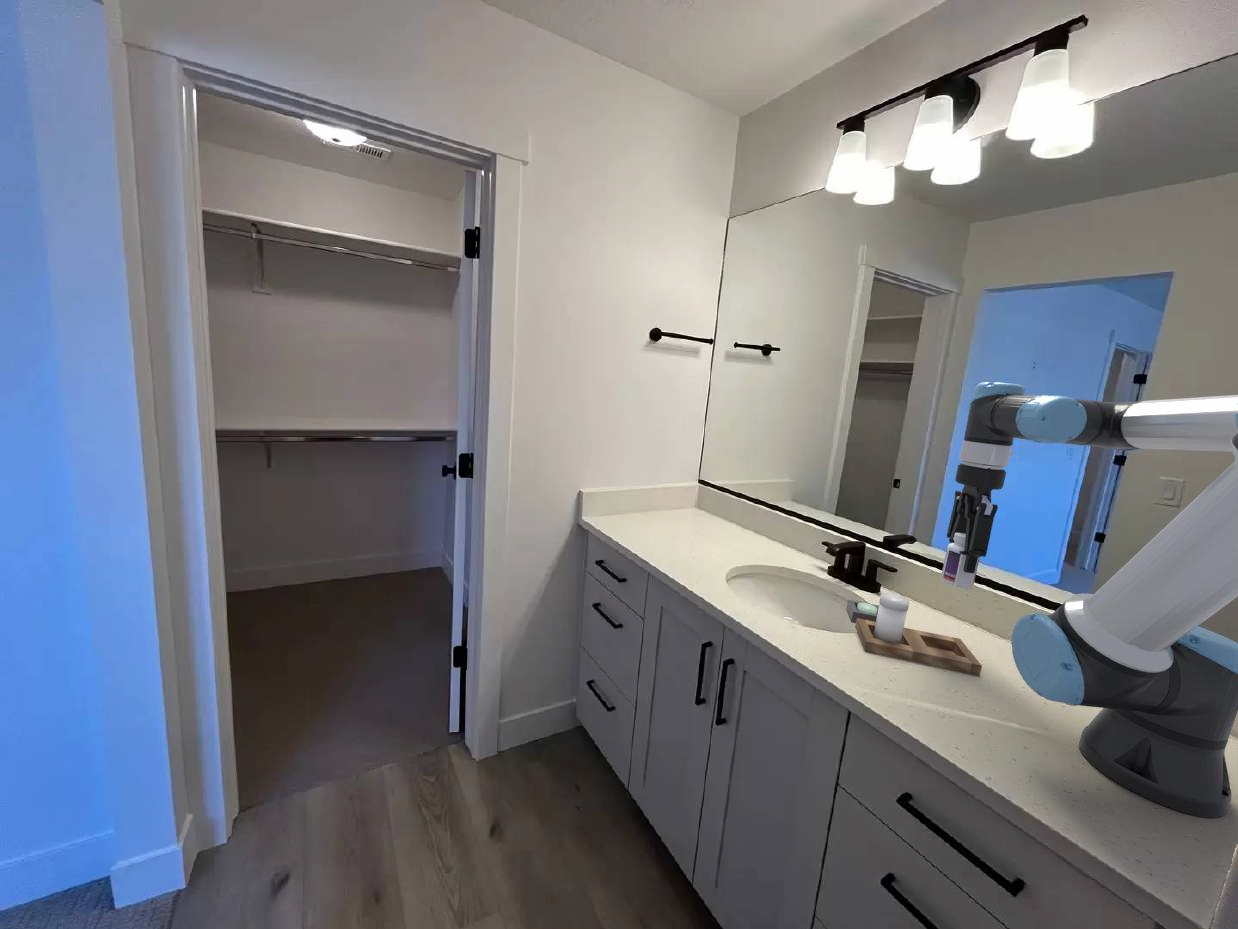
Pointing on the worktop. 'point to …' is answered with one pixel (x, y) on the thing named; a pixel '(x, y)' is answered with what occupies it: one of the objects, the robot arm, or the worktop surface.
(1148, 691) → the robot arm
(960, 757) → the worktop surface
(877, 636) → the bottle
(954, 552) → the pill bottle
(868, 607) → the button
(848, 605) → the switch box
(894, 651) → the walnut caddy
